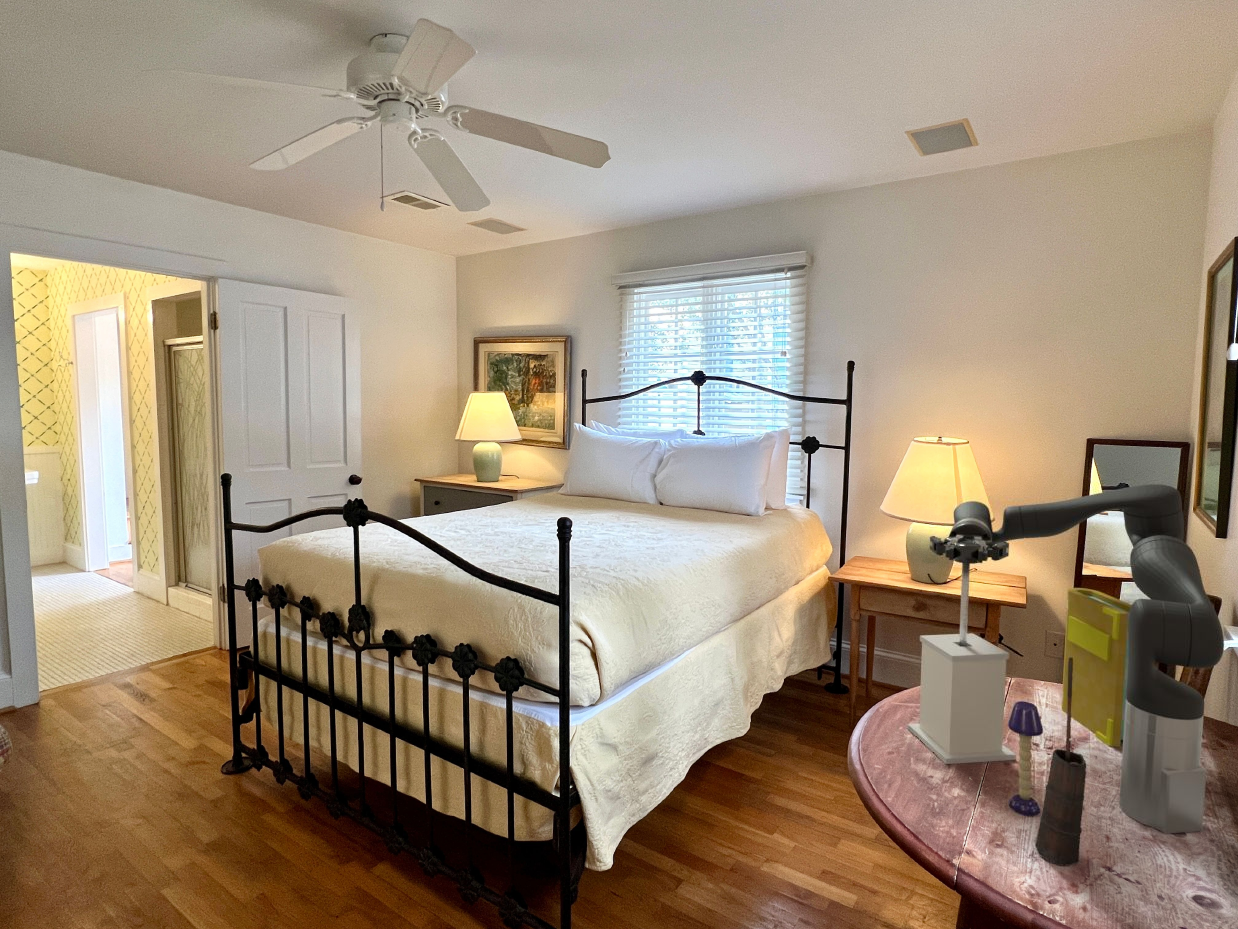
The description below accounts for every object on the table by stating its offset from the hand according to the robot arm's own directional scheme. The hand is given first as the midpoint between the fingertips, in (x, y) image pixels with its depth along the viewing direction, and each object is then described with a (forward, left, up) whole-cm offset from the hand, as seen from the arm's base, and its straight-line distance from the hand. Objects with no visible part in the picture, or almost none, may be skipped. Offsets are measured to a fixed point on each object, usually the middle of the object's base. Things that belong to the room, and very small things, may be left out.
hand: (965, 556), depth 122 cm
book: (+6, -33, -36) cm, 49 cm away
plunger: (+2, -2, -24) cm, 25 cm away
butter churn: (-30, +3, -36) cm, 47 cm away
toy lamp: (-18, 0, -36) cm, 40 cm away
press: (+2, -2, -36) cm, 36 cm away
